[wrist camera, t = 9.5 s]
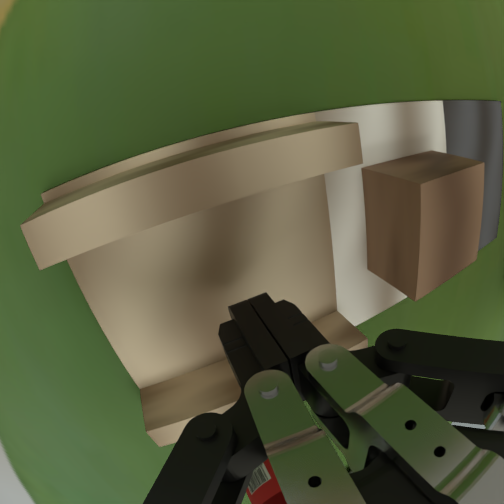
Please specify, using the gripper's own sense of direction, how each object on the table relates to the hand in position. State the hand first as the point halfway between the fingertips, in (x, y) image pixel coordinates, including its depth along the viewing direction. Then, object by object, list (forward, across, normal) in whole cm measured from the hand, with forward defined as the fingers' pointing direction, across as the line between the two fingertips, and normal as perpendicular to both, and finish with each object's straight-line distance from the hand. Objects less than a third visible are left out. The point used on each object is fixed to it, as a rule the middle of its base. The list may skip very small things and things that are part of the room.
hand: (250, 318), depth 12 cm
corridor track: (+4, -10, 0) cm, 10 cm away
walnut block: (+3, -11, 0) cm, 11 cm away
